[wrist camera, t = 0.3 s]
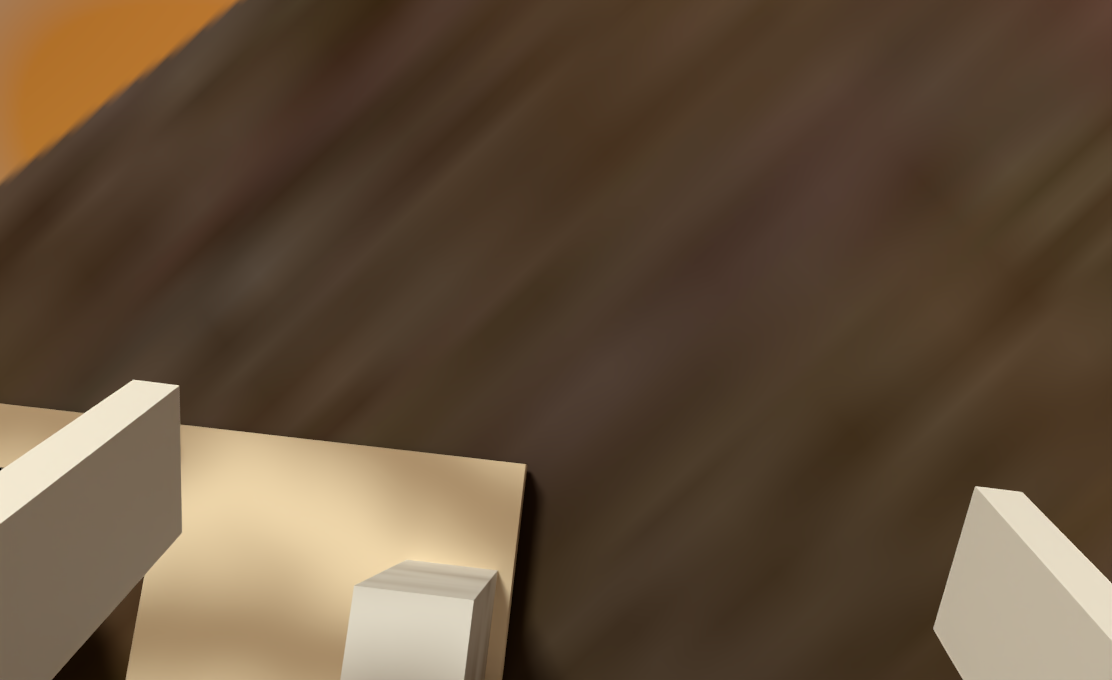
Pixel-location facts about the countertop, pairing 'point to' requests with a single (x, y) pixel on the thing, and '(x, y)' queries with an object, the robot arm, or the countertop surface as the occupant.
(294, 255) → the countertop surface
